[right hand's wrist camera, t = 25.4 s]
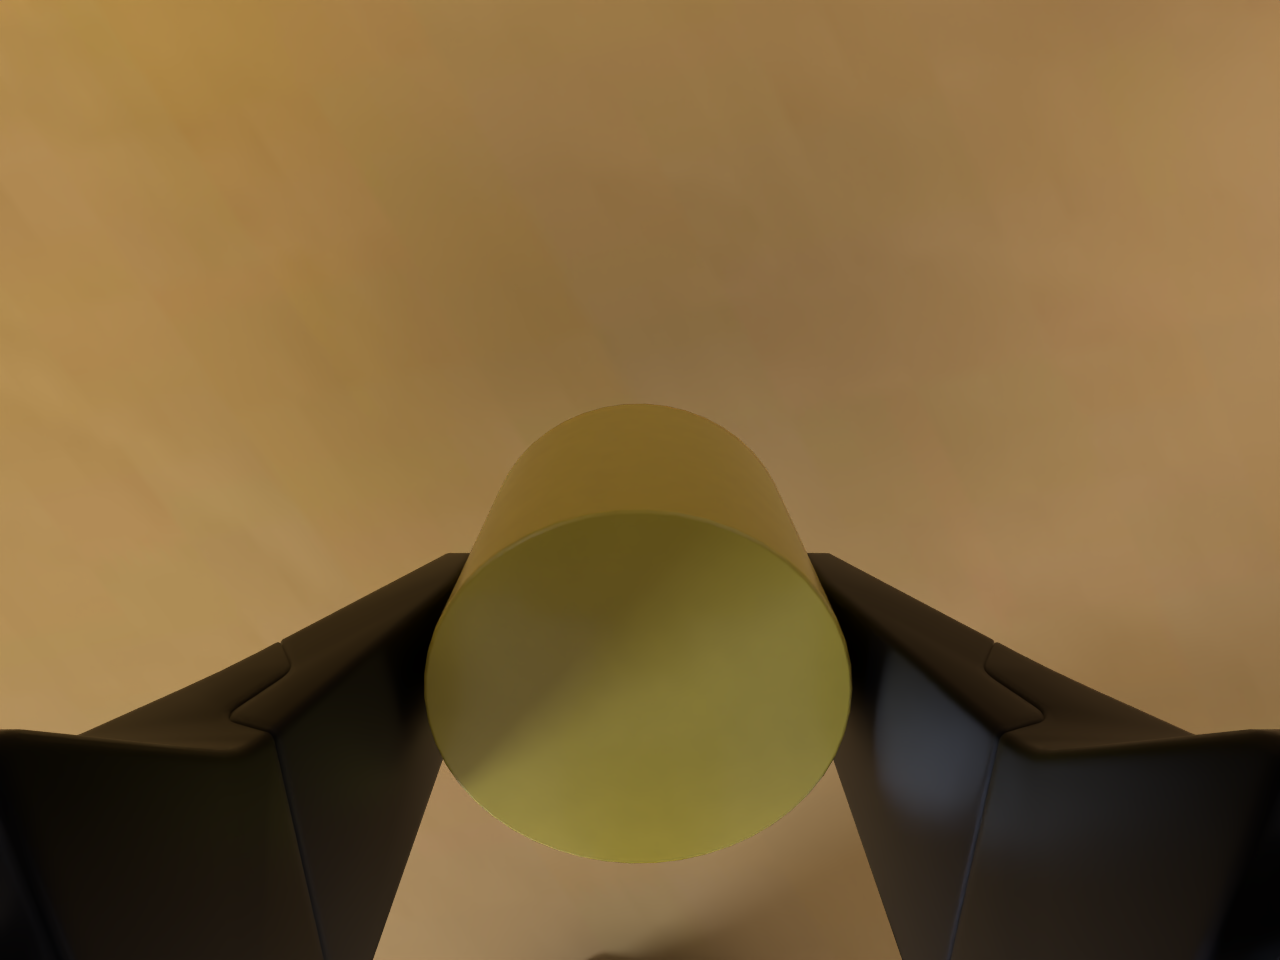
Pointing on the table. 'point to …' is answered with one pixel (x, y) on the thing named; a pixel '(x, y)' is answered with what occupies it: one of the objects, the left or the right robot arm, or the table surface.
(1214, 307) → the table surface
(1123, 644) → the table surface
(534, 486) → the yellow cylinder
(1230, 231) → the table surface
